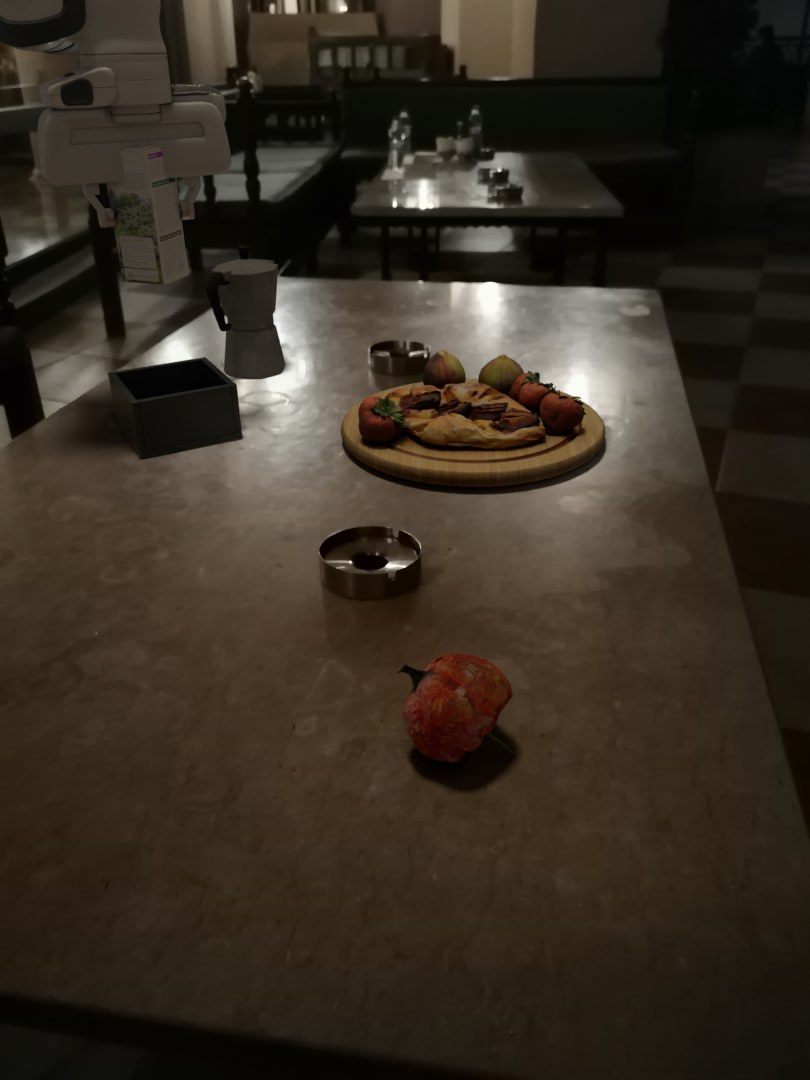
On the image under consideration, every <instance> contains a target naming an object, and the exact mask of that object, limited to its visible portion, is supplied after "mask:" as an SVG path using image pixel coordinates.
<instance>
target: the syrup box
mask: <svg viewBox="0 0 810 1080" xmlns="http://www.w3.org/2000/svg"><path fill="white" fill-rule="evenodd" d="M159 146H160V145H159V144H151V145H142V146H135V147H130V148H124V149H123V151H122V150H120V153H121V159H122V165H123V171H124V180H123V181H122V182H111V183H106V189H107V195H108V200H109V208H111V209H112V210H113V211H114V218H113V219H114V220H115V224H116V226H114V227H113V231H114V236H115V241H116V242H115V243H116V249H117V254H118V260H119V266H120V273H121V279H122V282H125V283H135V284H145V285H160V286H166V285H168V284H171V283H174V282H176V281H179V280H181V279H184V278H186V277H188V276H189V275H190V271H189V263H188V262H189V261H188V257H187V250H186V244H185V236H184V229H183V220H181V211H180V205H179V202H180V195H179V187H178V177H177V178H167V177H166V176H165V172H164V164H163V155H162V148H161V147H159Z"/></svg>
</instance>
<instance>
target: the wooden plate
mask: <svg viewBox="0 0 810 1080" xmlns="http://www.w3.org/2000/svg"><path fill="white" fill-rule="evenodd" d="M540 375H541V374H540V372H537V371H535V372H533V371H531V370H528V369H527V372H525V371H524V369H523V367H522V365H520V363H518V362H517V361H516V360H515V359H513V358H511V357H509V356H508V355H507V354H504V353H503V354H500V355H498V356H496V357H495V358H493V359H492V360H490V361H488V362H487V363H486V364H485V365H484V366H483V367H482V368H481V369H480V371H479V374H478V378H467V376H466V371H465V368H464V365H462V362H461V361H460V360H459V359H458V358H457V357H456V356H455V355H453V354H451V353H449V352H448V351H446V350H444V349H442V350H440V351H436V353H434V354H433V355H432V356H431V357H430V358H429V359H428V361H427V363H426V364H425V366H424V369H423V373H422V381H419V382H414V383H408V384H404V385H399V386H395V387H392V388H388V389H385V390H382V391H380V392H376V393H375V394H374V393H373V394H372V395H370V396H367V397H366V398H363V399H362V400H360V401H359V402H357V403H356V404H355V405H353V407H351V408H350V409H349V410H348V412H347V413H345V415H344V417H343V418H342V422H341V425H340V436H341V440H342V443H343V444H344V447H345V448H346V449H347V450H348V451H349V453H350V454H351V455H352V456H353V457H354V458H356V459H357V460H359V461H360V462H361V463H363V464H364V465H366V466H368V467H370V468H372V469H375V470H376V471H378V472H381V473H384V474H387V475H390V476H392V477H396V478H400V479H404V480H408V481H412V482H417V483H422V484H428V485H429V484H430V485H439V486H448V487H465V488H476V487H477V488H484V487H485V488H487V487H503V486H513V485H514V486H515V485H521V484H527V483H534V482H538V481H543V480H546V479H551V478H554V477H559V476H560V475H563V474H566V473H568V472H570V471H573V470H575V469H577V468H579V467H581V466H582V465H584V464H586V463H587V462H589V461H591V460H592V458H594V457H595V456H596V454H598V452H599V451H600V450H601V448H602V446H603V445H604V442H605V438H606V425H605V423H604V420H603V418H602V417H601V416H600V415H599V413H598V412H597V411H596V410H595V409H594V408H593V407H592V406H590V405H589V404H588V403H587V402H584V401H583V400H582V398H581V396H574V395H571V394H569V393H566V392H563V391H561V389H559V390H558V389H556V388H557V386H556V385H554V383H553V382H547V383H544V382H542V381H540V379H541V376H540Z"/></svg>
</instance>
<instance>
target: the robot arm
mask: <svg viewBox="0 0 810 1080" xmlns="http://www.w3.org/2000/svg"><path fill="white" fill-rule="evenodd" d="M161 4H162V3H161V0H0V43H2V44H4V45H6V46H8V47H10V48H13V49H16V50H20V51H24V52H25V51H26V52H35V53H36V52H41V53H44V54H48V55H54V56H63V55H68V54H72V53H74V52H76V51H78V57H79V63H80V67H79V69H77V70H73V71H68V72H66V73H64V74H63V75H62V76H59V77H57V78H54V79H51V80H48V81H46V82H43V83H42V84H41V85H40V86H39V88H38V89H39V90H38V91H39V98H40V100H41V102H42V104H43V105H44V106H45V107H47V108H46V109H45V110H43V111H42V113H41V114H40V116H39V118H38V120H37V121H38V122H37V145H38V146H37V147H38V158H39V164H40V170H41V174H42V176H43V178H44V179H45V180H46V181H47V182H48V183H49V184H51V185H52V186H54V187H68V186H69V187H70V186H81V188H82V194H83V195H84V196H85V198H86V199H87V200H88V201H89V204H91V205H92V207H93V208H94V210H96V214H97V219H98V224H99V227H100V228H101V229H102V228H114V226H116V224H115V220H114V219H113V218H114V211H113V210H112V209H111V207H104V205H102V203H101V202H100V200H99V198H98V197H96V196H97V195H100V194H101V191H100V186H99V185H100V184H107V183H111V182H122V181H123V180H124V171H123V165H122V159H121V153H120V150H122V151H123V149H124V148H130V147H135V146H142V145H151V144H159V145H160V146H159V147H161V148H162V155H163V164H164V172H165V176H166V177H167V178H177V179H178V178H182V180H183V185H184V186H186V187H187V190H186V193H185V195H184V198H183V201H179V205H180V211H181V220H182V221H187V220H195V218H196V214H195V205H194V203H196V200H197V199H198V195H199V193H200V190H201V189H202V182H201V177H204V176H215V175H225V174H228V171H229V170H230V168H231V167H232V164H233V163H232V154H231V148H230V143H229V138H228V133H227V130H226V125H225V123H226V121H227V120H226V119H227V108H226V100H225V97H224V95H223V94H222V93H221V91H220V90H219V89H217V88H216V87H213V86H211V84H210V83H206V82H199V83H196V84H195V83H194V84H192V83H191V84H189V83H171V78H170V76H171V75H170V69H169V60H168V52H167V47H166V45H165V42H164V39H163V36H162V33H161V27H160V17H161V16H160V15H161V9H162V5H161ZM212 93H213V94H212Z"/></svg>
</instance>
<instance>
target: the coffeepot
mask: <svg viewBox="0 0 810 1080" xmlns="http://www.w3.org/2000/svg"><path fill="white" fill-rule="evenodd" d="M237 251H238V255H239V258H237V259H233V260H229V261H226V262H223V263H219V264H217V265H216V266H215V267H214V268H212V269H211V274H210V275H209V277H208V280H207V283H206V285H205V294H206V297H207V300H208V301H209V305H210V306H211V309H212V310H211V311H212V313H213V315H214V318H215V321H216V324H217V326H218V328H219V330H220V332H225V341H224V342H225V343H224V345H225V346H224V362H223V373H226V374H227V375H228V374H229V375H228V376H229V377H232V376H233V377H232V378H236V379H243V380H258V379H265V378H271V377H274V376H276V375H279V374H280V373H282V372H283V371H284V370H285V366H286V359H285V356H284V353H283V348H282V344H281V340H280V336H279V333H278V329H277V328H278V327H277V325H276V324H275V320H274V314H275V312H276V308H277V307H276V306H277V294H278V293H277V292H278V291H277V290H278V276H279V275H278V274H279V264H277V263H275V260H272V259H271V260H270V259H260V258H258V259H257V258H250V257H249V253H250V246H248V245H245V244H241V245H239V246H238V247H237ZM226 320H227V322H226Z"/></svg>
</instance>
